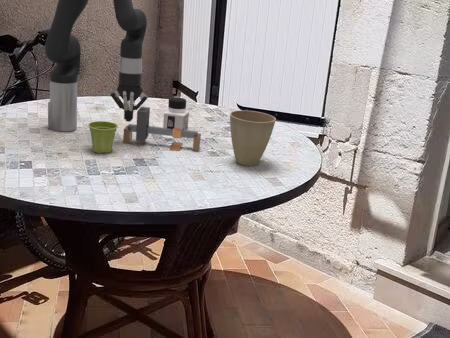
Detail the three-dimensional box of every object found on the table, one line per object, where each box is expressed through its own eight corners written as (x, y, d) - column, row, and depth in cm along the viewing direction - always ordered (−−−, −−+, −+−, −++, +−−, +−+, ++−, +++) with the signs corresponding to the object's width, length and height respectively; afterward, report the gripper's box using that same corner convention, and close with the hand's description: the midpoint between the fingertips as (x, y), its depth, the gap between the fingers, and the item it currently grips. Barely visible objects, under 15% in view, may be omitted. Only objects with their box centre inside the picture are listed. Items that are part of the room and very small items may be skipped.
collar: (135, 140, 190) (137, 111, 187) (139, 135, 197) (141, 106, 194) (144, 141, 190) (146, 112, 187) (148, 136, 197) (149, 107, 194)
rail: (121, 144, 190) (122, 126, 188) (127, 137, 199) (128, 120, 197) (197, 153, 190) (199, 135, 187) (200, 145, 198) (201, 128, 196)
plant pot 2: (255, 173, 176) (261, 124, 171) (216, 161, 183) (221, 114, 178) (277, 163, 188) (283, 117, 183) (239, 152, 195) (244, 107, 190)
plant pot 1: (122, 149, 185) (123, 124, 182) (107, 157, 177) (108, 130, 174) (97, 144, 188) (98, 119, 185) (81, 151, 179) (82, 125, 177)
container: (182, 135, 208) (184, 101, 203) (162, 132, 209) (164, 98, 205) (187, 130, 215) (190, 97, 211) (168, 127, 216) (170, 94, 212)
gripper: (107, 70, 183) (106, 121, 188) (147, 74, 182) (145, 125, 188) (113, 66, 190) (112, 116, 196) (152, 71, 189) (149, 120, 195)
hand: (128, 120), depth 192 cm, fingers closed
